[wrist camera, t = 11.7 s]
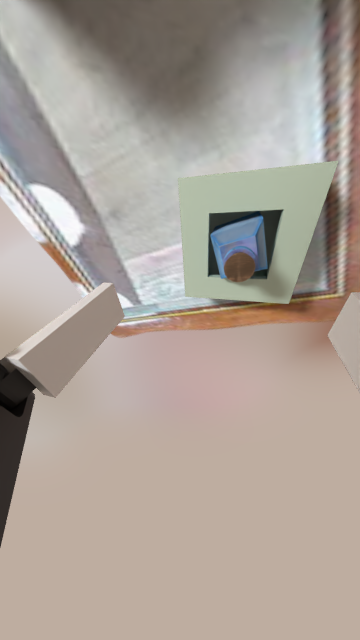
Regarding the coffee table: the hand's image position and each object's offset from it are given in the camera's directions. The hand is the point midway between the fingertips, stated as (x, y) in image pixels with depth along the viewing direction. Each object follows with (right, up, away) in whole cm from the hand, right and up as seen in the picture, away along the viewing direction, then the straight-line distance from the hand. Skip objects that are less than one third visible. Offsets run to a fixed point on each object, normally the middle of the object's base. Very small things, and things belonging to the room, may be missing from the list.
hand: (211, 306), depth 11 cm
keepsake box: (+8, +12, +17) cm, 23 cm away
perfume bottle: (+8, +12, +17) cm, 22 cm away
